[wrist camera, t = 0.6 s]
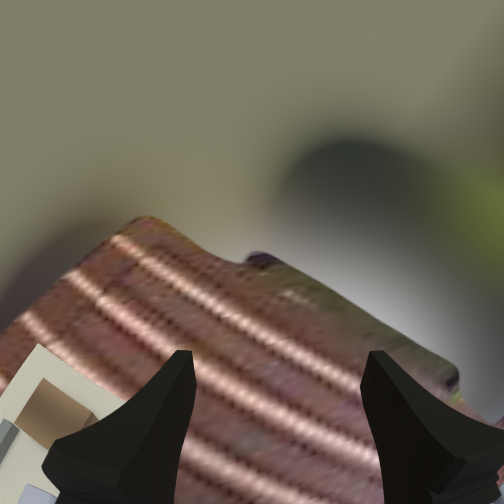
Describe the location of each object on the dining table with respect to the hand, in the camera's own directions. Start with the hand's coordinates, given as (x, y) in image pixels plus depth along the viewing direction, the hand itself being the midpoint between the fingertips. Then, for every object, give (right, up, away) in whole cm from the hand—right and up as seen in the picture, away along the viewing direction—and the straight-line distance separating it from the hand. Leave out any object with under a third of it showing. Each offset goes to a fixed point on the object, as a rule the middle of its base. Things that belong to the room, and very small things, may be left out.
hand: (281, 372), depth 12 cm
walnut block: (-17, -10, +9) cm, 22 cm away
